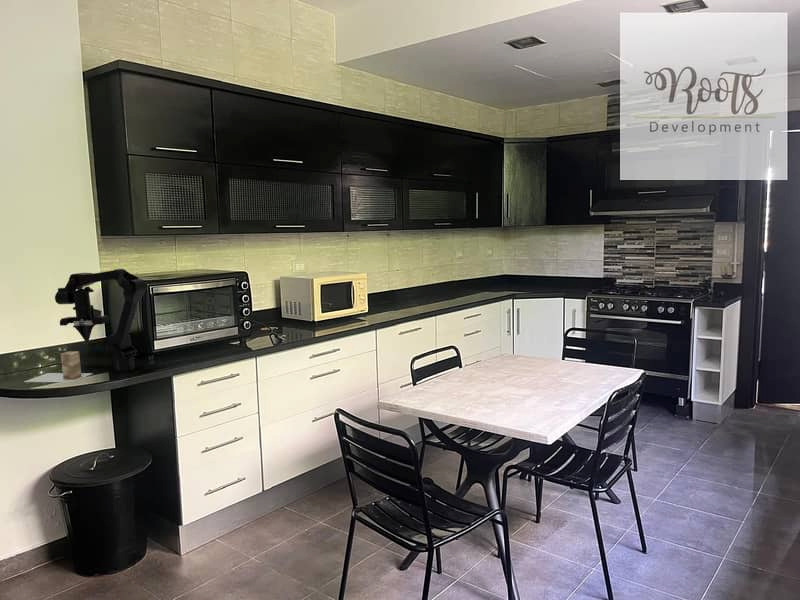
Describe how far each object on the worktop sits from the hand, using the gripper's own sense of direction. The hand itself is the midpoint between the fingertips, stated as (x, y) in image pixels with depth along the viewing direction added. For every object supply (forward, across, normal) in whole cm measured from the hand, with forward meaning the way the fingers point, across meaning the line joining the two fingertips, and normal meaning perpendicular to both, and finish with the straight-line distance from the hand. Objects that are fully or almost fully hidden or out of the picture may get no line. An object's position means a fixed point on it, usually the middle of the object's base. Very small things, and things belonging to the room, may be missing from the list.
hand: (87, 341), depth 242 cm
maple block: (+12, -2, +14) cm, 18 cm away
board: (+12, +4, +14) cm, 19 cm away
